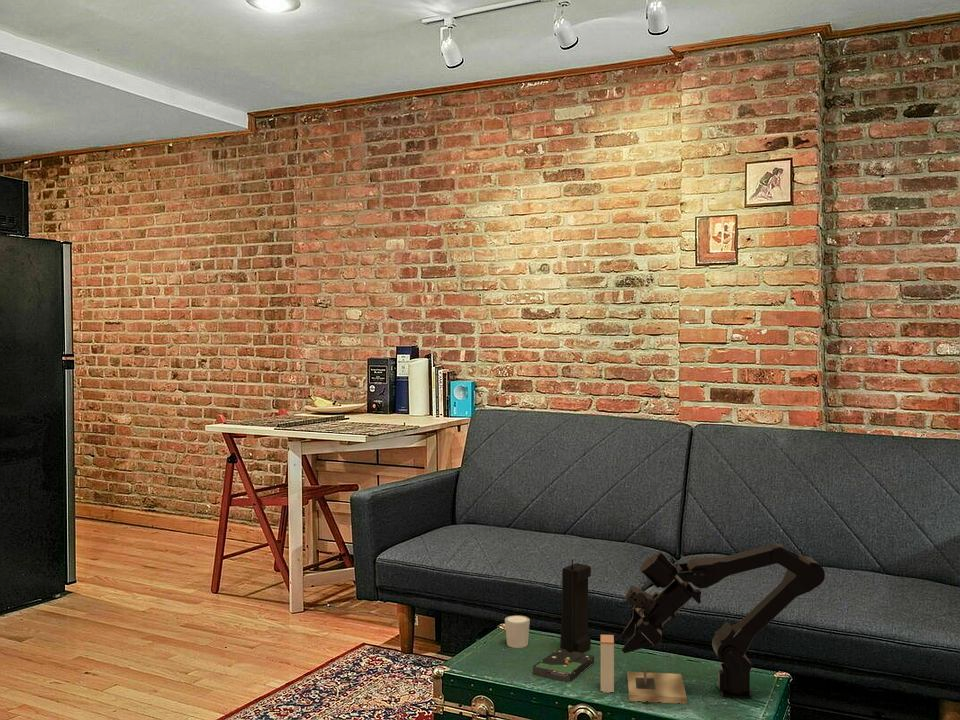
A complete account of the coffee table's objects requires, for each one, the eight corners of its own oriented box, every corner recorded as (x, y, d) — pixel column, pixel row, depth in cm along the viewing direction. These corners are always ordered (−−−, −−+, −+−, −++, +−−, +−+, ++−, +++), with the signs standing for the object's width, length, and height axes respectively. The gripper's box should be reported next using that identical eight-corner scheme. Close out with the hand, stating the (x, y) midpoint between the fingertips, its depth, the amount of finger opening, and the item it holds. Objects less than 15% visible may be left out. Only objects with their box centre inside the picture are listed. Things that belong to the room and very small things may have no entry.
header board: (680, 680, 217) (681, 661, 217) (686, 703, 203) (686, 684, 203) (627, 677, 219) (627, 659, 219) (629, 701, 205) (629, 681, 205)
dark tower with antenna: (574, 642, 243) (574, 552, 242) (593, 647, 239) (593, 556, 239) (558, 650, 237) (558, 558, 236) (577, 656, 233) (577, 562, 233)
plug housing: (613, 683, 215) (613, 635, 214) (613, 692, 210) (613, 642, 209) (600, 683, 215) (600, 634, 215) (600, 692, 210) (600, 642, 210)
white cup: (518, 638, 247) (518, 613, 247) (535, 644, 242) (535, 619, 242) (499, 643, 243) (499, 618, 243) (516, 650, 238) (516, 624, 237)
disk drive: (558, 658, 234) (532, 676, 221) (558, 647, 234) (532, 665, 221) (594, 665, 228) (570, 684, 216) (594, 655, 228) (570, 673, 215)
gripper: (643, 565, 220) (598, 608, 221) (648, 587, 201) (598, 633, 203) (675, 598, 219) (630, 640, 221) (683, 623, 200) (633, 669, 202)
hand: (622, 644), depth 212 cm, fingers open, 9 cm apart
